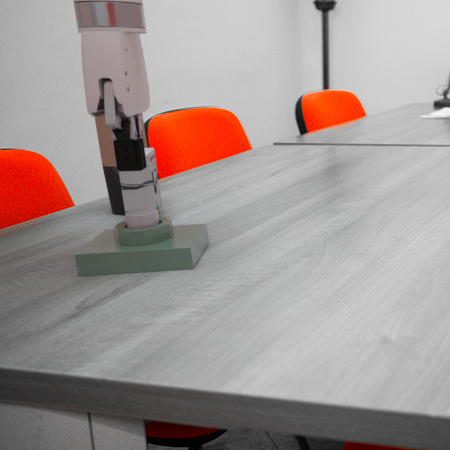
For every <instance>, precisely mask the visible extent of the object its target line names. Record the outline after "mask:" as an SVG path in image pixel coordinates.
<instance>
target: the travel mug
mask: <svg viewBox="0 0 450 450" xmlns="http://www.w3.org/2000/svg"><path fill="white" fill-rule="evenodd" d="M122 113H124V112H122ZM94 121H95V129H96V134H97V141H98V147H99V154H100V159H101V160H100V161H101V165H102V171H103V176H104V180H105V184H106V186H105V187H106V190H107V194H108V200H109V204H110V209H111V213H112V214H113V215H117V216H125V209H124V202H123V196H122V189H121V183H120V177H119V171H118V170H117V164H116V158H115V151H114V144H113V140H112V136H111V131H110V129H109V128H107V127H106V124H105V115H104V116H101V117H94ZM142 130H143V137H142V138H143V142H144V148H149V147H148V142H147V134H146V129H145V123H144V118H143V119H142Z"/></svg>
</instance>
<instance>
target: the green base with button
mask: <svg viewBox="0 0 450 450" xmlns="http://www.w3.org/2000/svg"><path fill="white" fill-rule="evenodd" d="M159 222H160V224H158V225H155V226H152V227H146V228H135V229H132V228H127V222H126V220H124V221H122V222H119V223H117V224H116V225H114V227H113V228H107V229H104V230H103V231H101V232H100V233H99V234H98V235H97V236H95V237H94V238H93V239H92V240H90V241H89V242H88V243H87V244H85V245H84V246H83V247H82V248H81V249H79V250H78V251H76V252H75V253H74V255H73V256H74V260H75V265H76V266H75V267H76V270H77V276H78V277H88V276H89V277H91V276H93V277H95V276H106V275H107V276H108V275H123V274H125V275H126V274H137V273H140V274H141V273H155V272H170V271H186V270H185V269H187V270H194V269H193V268H195V267H196V265H197V264H198V262H199V260H200V258H201V257H202V255H203V253H204V252H205V250H206V248H207V246H208V245H209V243H210V239H209V232H208V224H207V223H193V224H192V223H191V224H176V225H175V224H174V225H173V221H172V219H171V218H170V217H166V216H161V217H159ZM196 263H197V264H196Z"/></svg>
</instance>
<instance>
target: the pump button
mask: <svg viewBox="0 0 450 450" xmlns="http://www.w3.org/2000/svg"><path fill="white" fill-rule="evenodd" d="M124 216H125V221H126V222H127V228H132V229H135V228H146V227H152V226H155V225H158V224H160V222H159V215H158V210H157V209H155V208H141V209H135V210H131V211H128V212H126V213H125V215H124Z"/></svg>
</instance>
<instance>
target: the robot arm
mask: <svg viewBox="0 0 450 450" xmlns="http://www.w3.org/2000/svg"><path fill="white" fill-rule="evenodd" d="M72 1H73V7H74V13H75V20H76V27H77V31H78V33H79V34H80V35H81V36H80V49H81V50H80V52H81V53H80V54H81V67H82V77H83V78H82V79H83V87H84V96H85V103H86V111H87V113H88V115H90V116H91V117H92V118H95V117H101V116H104V115H105V124H106V127H107V128H109V129H110V131H111V136H112V140H113V144H114V151H115V158H116V164H117V170H118V171H142V170H143V169H145V168H146V167H147V164H146V157H145V149H144V142H143V138H142V137H143V130H142V119H143V120H144V117H143V116H144V115H143V113H145V112H147V111H148V110H149V109H150V106H151V95H150V86H149V79H148V71H147V66H146V61H145V56H144V49H143V45H142V40H141V35H147V33H148V32H147V29H146V28H147V25H146V18H145V9H144V1H143V0H72ZM122 112H124V113H122Z"/></svg>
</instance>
